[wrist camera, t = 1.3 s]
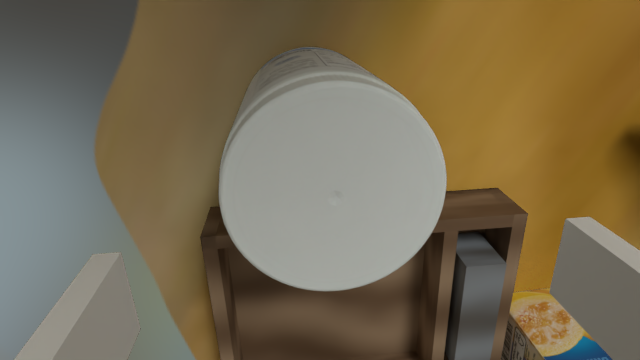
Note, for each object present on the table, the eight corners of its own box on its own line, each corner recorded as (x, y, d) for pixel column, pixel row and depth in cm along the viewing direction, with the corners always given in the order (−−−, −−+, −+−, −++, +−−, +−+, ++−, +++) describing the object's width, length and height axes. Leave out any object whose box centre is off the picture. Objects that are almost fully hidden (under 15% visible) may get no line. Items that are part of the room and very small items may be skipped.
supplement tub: (332, 194, 33) (369, 328, 19) (220, 139, 30) (172, 250, 17) (400, 85, 30) (500, 152, 16) (282, 15, 27) (285, 26, 14)
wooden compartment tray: (210, 207, 32) (197, 244, 27) (497, 188, 34) (535, 219, 29) (235, 369, 39) (228, 423, 34) (473, 347, 40) (500, 394, 35)
